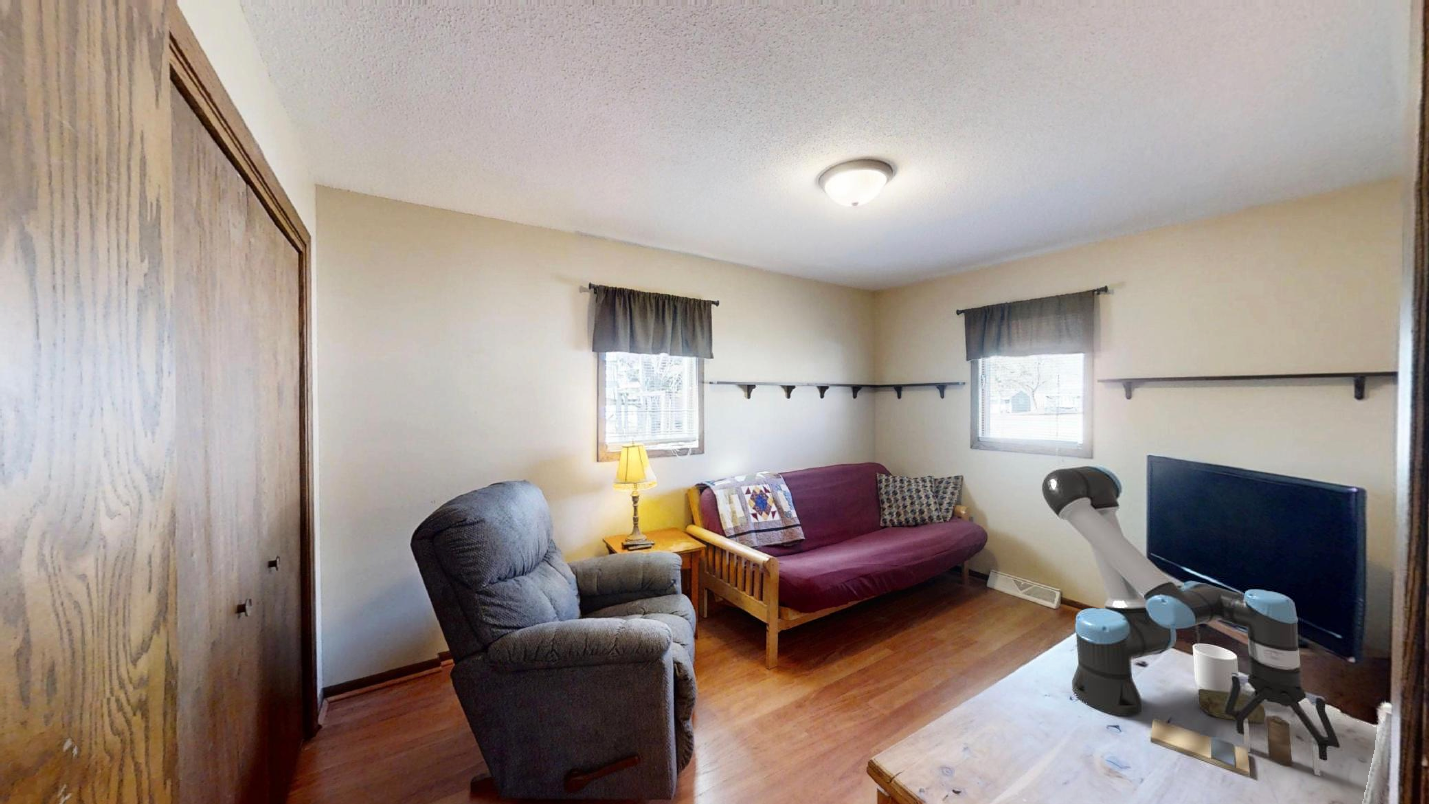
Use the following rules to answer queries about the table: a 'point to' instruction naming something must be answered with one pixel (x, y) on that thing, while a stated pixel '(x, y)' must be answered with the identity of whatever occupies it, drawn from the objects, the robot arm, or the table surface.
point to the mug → (1214, 667)
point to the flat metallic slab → (1201, 747)
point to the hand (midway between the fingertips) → (1280, 759)
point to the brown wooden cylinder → (1279, 740)
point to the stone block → (1216, 702)
